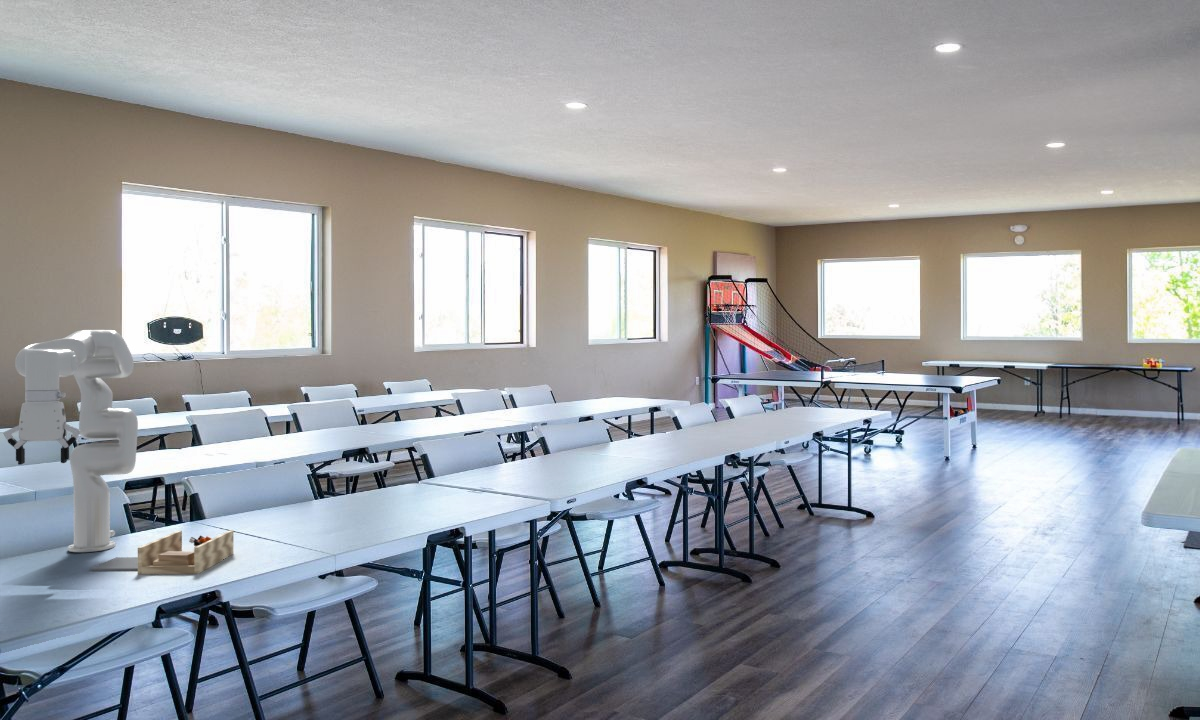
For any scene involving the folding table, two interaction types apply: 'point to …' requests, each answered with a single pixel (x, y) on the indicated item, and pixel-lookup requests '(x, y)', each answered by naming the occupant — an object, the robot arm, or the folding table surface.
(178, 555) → the offcuts
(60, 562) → the folding table surface
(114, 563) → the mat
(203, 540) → the toy
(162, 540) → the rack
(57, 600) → the folding table surface
